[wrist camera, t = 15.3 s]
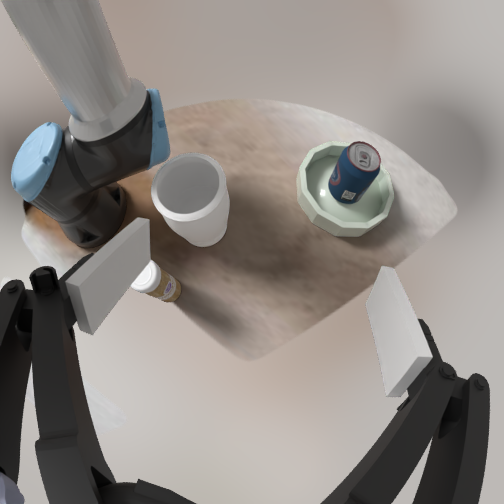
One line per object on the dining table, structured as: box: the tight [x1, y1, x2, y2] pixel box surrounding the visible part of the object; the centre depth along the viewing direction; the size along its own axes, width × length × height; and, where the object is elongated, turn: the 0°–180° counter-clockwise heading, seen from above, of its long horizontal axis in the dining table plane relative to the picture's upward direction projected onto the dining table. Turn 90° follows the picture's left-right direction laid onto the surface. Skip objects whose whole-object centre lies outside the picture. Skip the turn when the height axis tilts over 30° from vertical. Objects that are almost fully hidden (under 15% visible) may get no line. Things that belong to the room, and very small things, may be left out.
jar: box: [151, 153, 230, 247], centre depth 43 cm, size 11×10×15 cm
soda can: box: [328, 141, 381, 204], centre depth 46 cm, size 7×7×12 cm
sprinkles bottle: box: [131, 260, 181, 302], centre depth 41 cm, size 5×5×13 cm
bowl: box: [296, 141, 394, 237], centre depth 50 cm, size 18×18×4 cm
